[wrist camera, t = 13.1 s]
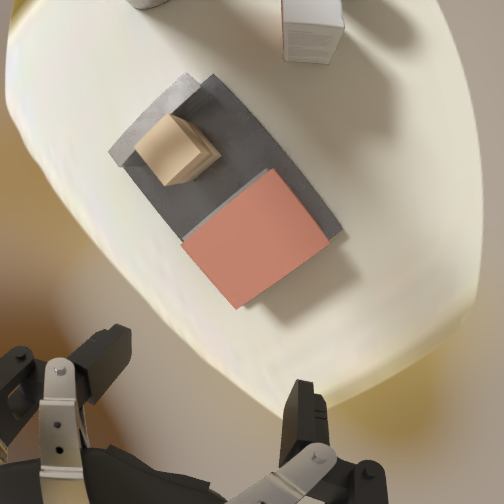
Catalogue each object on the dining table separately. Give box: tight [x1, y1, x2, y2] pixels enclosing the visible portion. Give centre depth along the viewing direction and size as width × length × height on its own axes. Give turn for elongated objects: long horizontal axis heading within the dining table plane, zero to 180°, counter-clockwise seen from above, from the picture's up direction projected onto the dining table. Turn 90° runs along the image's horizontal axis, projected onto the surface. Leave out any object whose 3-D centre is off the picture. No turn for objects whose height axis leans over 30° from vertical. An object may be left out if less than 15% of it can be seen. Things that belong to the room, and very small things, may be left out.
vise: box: [108, 72, 343, 242], centre depth 30 cm, size 24×16×6 cm
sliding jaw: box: [181, 168, 330, 309], centre depth 30 cm, size 9×12×5 cm
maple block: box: [134, 113, 221, 186], centre depth 27 cm, size 5×4×8 cm
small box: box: [281, 0, 345, 64], centre depth 21 cm, size 8×6×10 cm
